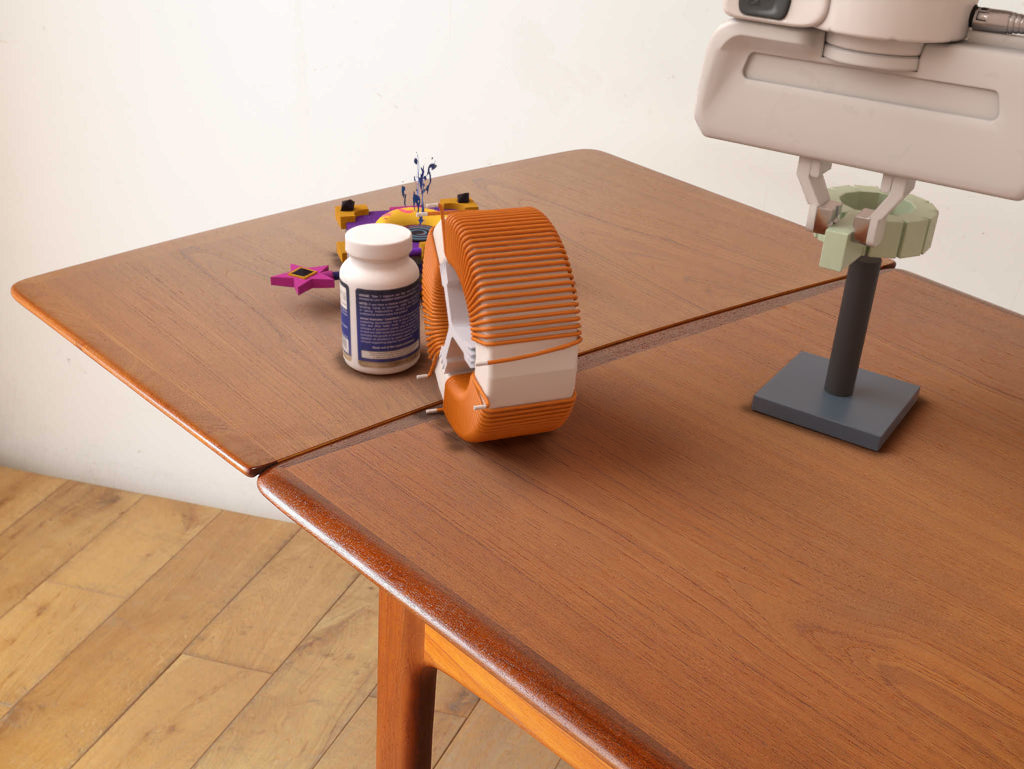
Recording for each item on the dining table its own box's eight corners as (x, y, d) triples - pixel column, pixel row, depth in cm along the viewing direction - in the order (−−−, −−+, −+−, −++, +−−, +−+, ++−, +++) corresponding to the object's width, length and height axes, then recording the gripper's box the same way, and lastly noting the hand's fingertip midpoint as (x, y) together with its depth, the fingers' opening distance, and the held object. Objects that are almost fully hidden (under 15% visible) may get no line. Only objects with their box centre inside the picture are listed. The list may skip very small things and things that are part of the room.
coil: (500, 370, 78) (507, 174, 70) (578, 478, 65) (597, 253, 58) (409, 382, 75) (407, 180, 68) (472, 496, 63) (478, 265, 56)
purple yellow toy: (571, 294, 91) (581, 154, 85) (276, 322, 83) (265, 171, 78) (517, 236, 103) (523, 110, 97) (256, 256, 95) (245, 121, 90)
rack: (917, 400, 76) (954, 255, 71) (877, 452, 69) (914, 296, 64) (798, 364, 80) (825, 224, 75) (750, 409, 74) (776, 260, 68)
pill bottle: (435, 355, 79) (435, 230, 75) (388, 385, 75) (385, 253, 70) (375, 336, 82) (372, 213, 77) (326, 363, 78) (320, 235, 73)
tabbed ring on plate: (942, 236, 70) (951, 201, 69) (890, 285, 62) (899, 247, 60) (835, 211, 73) (841, 178, 72) (771, 254, 65) (778, 217, 64)
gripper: (1110, 14, 54) (1035, 264, 61) (744, -29, 64) (713, 189, 71) (1089, 29, 50) (1011, 297, 56) (698, -21, 60) (670, 212, 66)
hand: (842, 237), depth 64 cm, fingers closed on tabbed ring on plate, 1 cm apart
